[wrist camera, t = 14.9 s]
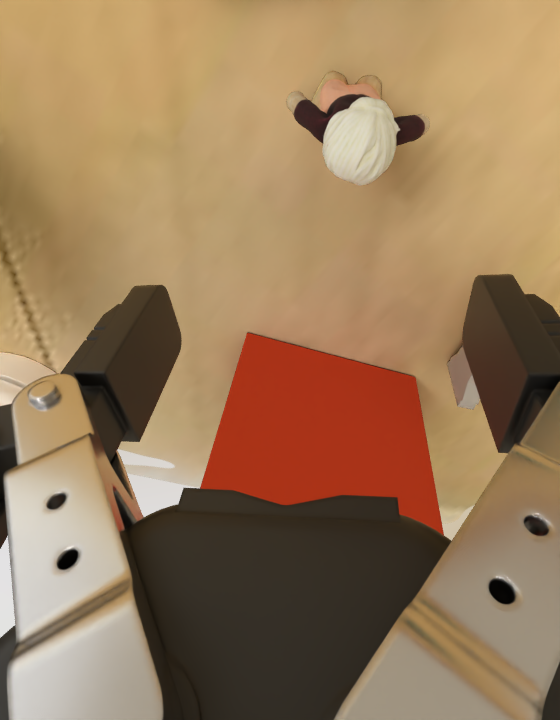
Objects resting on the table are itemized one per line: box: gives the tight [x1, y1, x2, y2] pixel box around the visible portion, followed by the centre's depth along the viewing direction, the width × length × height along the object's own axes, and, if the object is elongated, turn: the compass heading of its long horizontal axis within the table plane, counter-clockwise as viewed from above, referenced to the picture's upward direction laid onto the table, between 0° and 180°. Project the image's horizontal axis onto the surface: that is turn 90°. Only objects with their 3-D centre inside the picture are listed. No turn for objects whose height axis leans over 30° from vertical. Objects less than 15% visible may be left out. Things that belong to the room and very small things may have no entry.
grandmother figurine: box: [286, 71, 430, 185], centre depth 22 cm, size 8×4×13 cm, turn 94°
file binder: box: [200, 333, 444, 535], centre depth 32 cm, size 8×17×32 cm, turn 77°
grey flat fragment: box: [447, 344, 480, 409], centre depth 35 cm, size 6×1×10 cm
